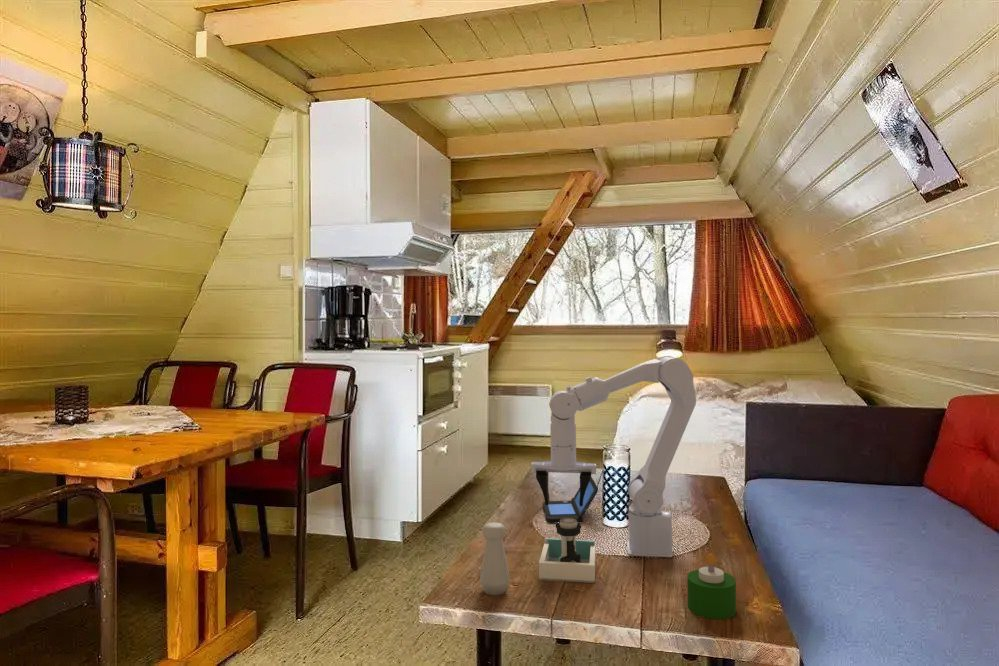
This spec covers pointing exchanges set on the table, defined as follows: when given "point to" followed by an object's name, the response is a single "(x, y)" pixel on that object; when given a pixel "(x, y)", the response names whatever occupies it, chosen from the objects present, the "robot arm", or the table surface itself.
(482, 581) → the salt shaker
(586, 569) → the bay
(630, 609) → the table surface
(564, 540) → the push button
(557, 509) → the handheld game console
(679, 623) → the table surface
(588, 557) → the gate
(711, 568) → the candle
